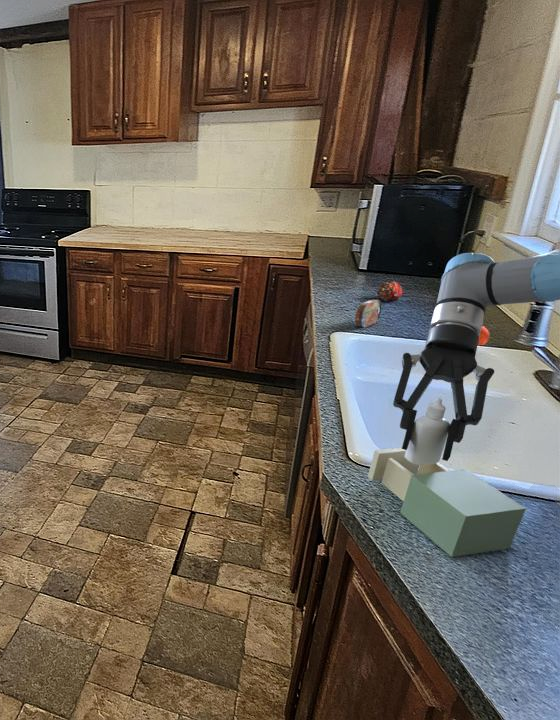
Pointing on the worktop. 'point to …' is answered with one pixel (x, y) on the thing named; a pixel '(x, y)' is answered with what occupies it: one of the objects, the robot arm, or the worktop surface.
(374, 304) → the sandwich
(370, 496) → the worktop surface
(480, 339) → the red tomato
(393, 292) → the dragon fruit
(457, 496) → the cabinet
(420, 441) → the eye dropper bottle
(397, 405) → the robot arm
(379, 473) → the drawer
